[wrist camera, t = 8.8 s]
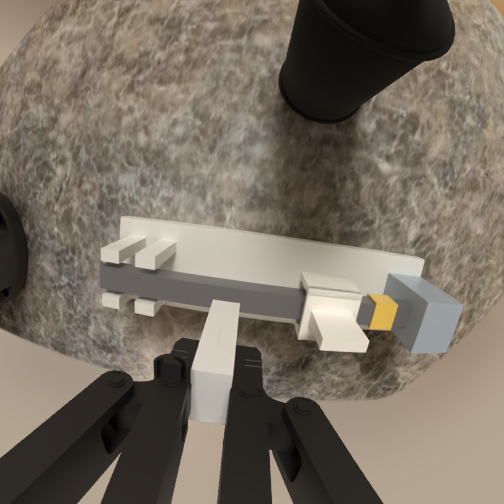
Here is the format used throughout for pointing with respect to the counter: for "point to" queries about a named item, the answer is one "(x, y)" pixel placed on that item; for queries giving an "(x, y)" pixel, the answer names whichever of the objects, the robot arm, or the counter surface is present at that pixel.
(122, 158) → the counter surface
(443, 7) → the aerosol can
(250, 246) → the grey rod on board
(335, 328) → the sleeve
